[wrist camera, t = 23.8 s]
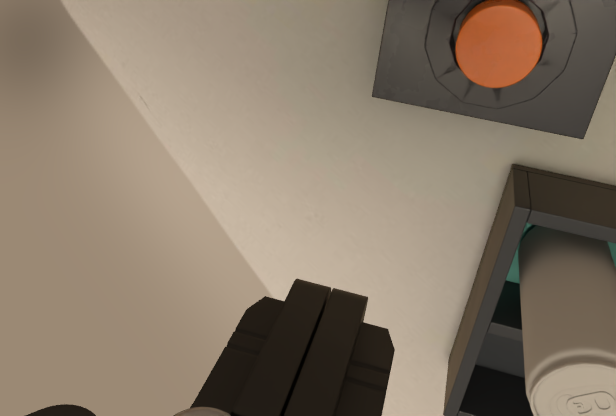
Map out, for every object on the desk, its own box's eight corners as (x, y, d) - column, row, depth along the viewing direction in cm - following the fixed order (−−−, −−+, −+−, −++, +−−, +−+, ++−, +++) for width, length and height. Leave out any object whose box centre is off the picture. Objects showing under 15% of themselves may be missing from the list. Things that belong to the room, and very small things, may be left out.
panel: (377, 87, 33) (365, 107, 30) (408, -90, 28) (398, -87, 25) (579, 127, 31) (588, 153, 28) (648, -57, 26) (667, -48, 23)
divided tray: (448, 359, 41) (442, 415, 36) (512, 163, 33) (514, 205, 29) (684, 425, 38) (708, 494, 34) (816, 228, 30) (869, 286, 26)
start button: (450, 68, 28) (446, 80, 27) (468, -10, 26) (466, -2, 25) (525, 82, 28) (527, 95, 26) (550, 4, 26) (554, 13, 24)
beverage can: (503, 230, 34) (506, 376, 24) (589, 200, 32) (632, 348, 22) (537, 293, 35) (553, 457, 25) (621, 269, 33) (675, 438, 23)
